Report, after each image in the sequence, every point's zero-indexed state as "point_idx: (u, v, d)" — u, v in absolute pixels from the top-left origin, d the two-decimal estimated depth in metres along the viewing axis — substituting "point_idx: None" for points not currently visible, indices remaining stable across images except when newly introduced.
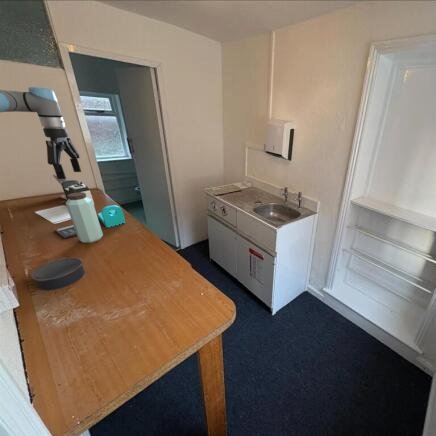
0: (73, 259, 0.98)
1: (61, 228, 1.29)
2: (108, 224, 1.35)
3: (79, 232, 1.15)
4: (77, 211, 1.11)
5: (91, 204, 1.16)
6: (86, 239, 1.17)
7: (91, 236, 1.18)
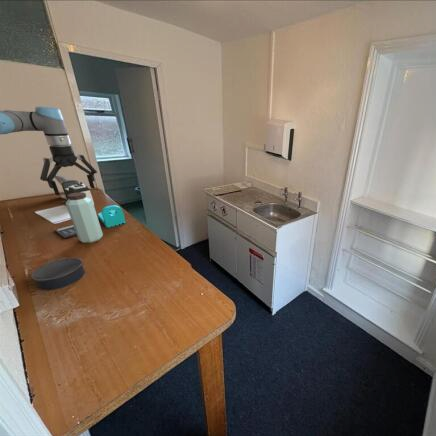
0: (73, 259, 0.98)
1: (61, 228, 1.29)
2: (108, 224, 1.35)
3: (79, 232, 1.15)
4: (77, 211, 1.11)
5: (91, 204, 1.16)
6: (86, 239, 1.17)
7: (91, 236, 1.18)
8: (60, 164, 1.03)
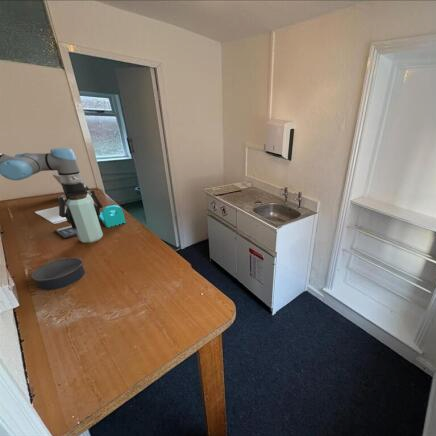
0: (73, 259, 0.98)
1: (61, 228, 1.29)
2: (108, 224, 1.35)
3: (79, 232, 1.15)
4: (77, 211, 1.11)
5: (91, 204, 1.16)
6: (86, 239, 1.17)
7: (91, 236, 1.18)
8: None
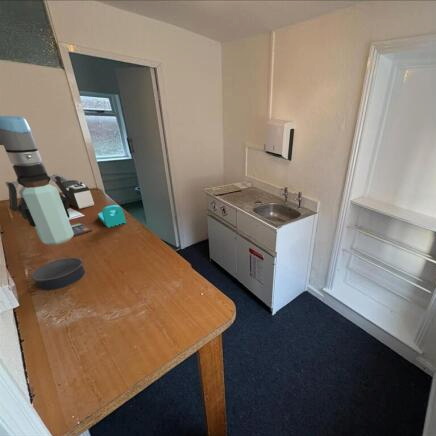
0: (73, 259, 0.98)
1: None
2: (108, 224, 1.35)
3: (40, 231, 0.87)
4: (35, 202, 0.83)
5: (56, 194, 0.88)
6: (50, 240, 0.89)
7: (57, 236, 0.90)
8: None
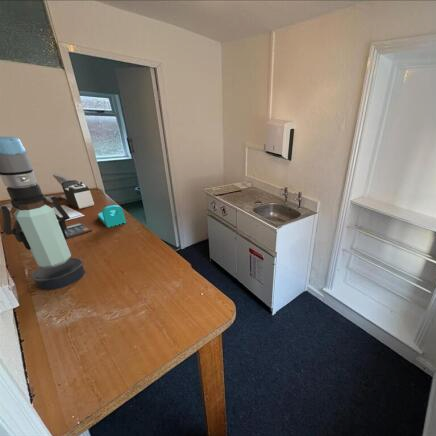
0: (73, 259, 0.98)
1: None
2: (108, 224, 1.35)
3: (35, 254, 0.84)
4: (30, 225, 0.80)
5: (52, 215, 0.84)
6: (46, 263, 0.86)
7: (53, 258, 0.86)
8: None
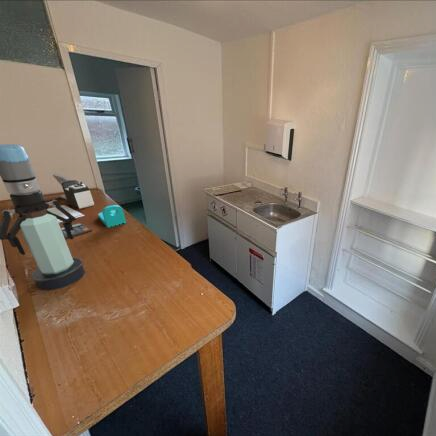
0: (73, 259, 0.98)
1: (61, 228, 1.29)
2: (109, 224, 1.35)
3: (38, 261, 0.85)
4: (33, 233, 0.81)
5: (55, 223, 0.86)
6: (49, 270, 0.87)
7: (56, 265, 0.88)
8: (25, 216, 0.80)
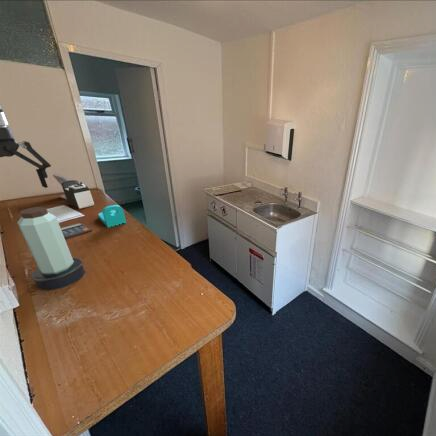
0: (73, 259, 0.98)
1: (61, 228, 1.29)
2: (109, 224, 1.35)
3: (38, 261, 0.85)
4: (33, 233, 0.81)
5: (55, 223, 0.86)
6: (49, 270, 0.87)
7: (56, 265, 0.88)
8: None
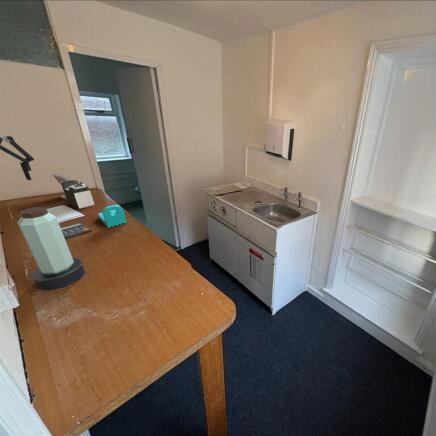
0: (73, 259, 0.98)
1: (61, 228, 1.29)
2: (109, 224, 1.35)
3: (38, 261, 0.85)
4: (33, 233, 0.81)
5: (55, 223, 0.86)
6: (49, 270, 0.87)
7: (56, 265, 0.88)
8: None
